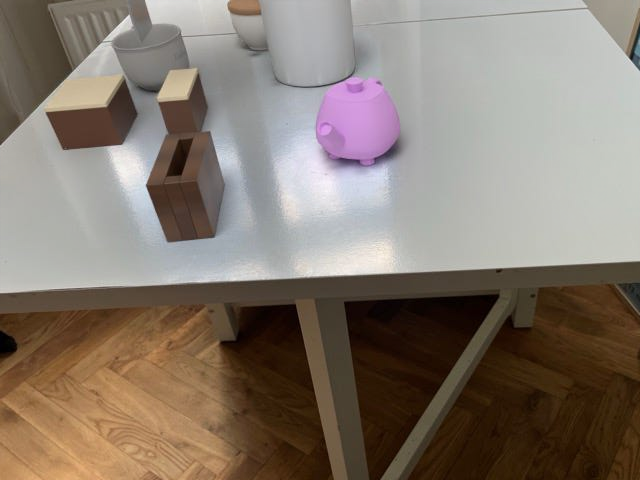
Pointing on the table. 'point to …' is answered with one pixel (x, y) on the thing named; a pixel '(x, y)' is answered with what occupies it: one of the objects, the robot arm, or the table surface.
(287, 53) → the utensil holder
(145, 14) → the knife
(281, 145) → the table surface
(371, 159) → the teapot
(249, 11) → the trinket box
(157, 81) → the teacup
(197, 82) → the cake slice
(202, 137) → the knife block
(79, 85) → the cake
